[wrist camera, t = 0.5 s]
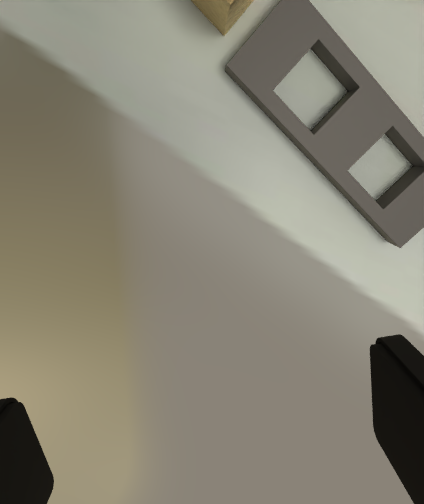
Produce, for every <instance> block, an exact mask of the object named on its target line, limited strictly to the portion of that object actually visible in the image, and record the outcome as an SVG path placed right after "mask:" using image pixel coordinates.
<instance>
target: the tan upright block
mask: <svg viewBox="0 0 424 504" xmlns="http://www.w3.org/2000/svg"><path fill="white" fill-rule="evenodd" d="M191 1H192V2H193V3H194V4H195V5H196V6H197V7H198V9H199V10H200V11H201V12H202V13H203V14H204V15H205V16H206V17H207V18H208V19H209V20H210V21H211V23H212V24H213V25H214V26H215V27H216V28H217V29H218V30H219V31H220V32H221V33H222V34H223V35H224V36H225V34H226V33H227V32H228V31H229V30H230V28H231V27H232V26H233V25H234V24H235V22H236V21H237V20H238V19H239V18H240V16H241V15H242V14H243V13H244V12H245V10H246V9H247V8H248V7H249V6H250V4H251V3H252V2H253V1H254V0H191Z"/></svg>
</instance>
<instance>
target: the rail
mask: <svg viewBox="0 0 424 504" xmlns="http://www.w3.org/2000/svg"><path fill="white" fill-rule="evenodd" d="M310 48H311V49H312V50H313V51H314V52H315V53H316V55H317V56H318V57H319V58H320V59H321V60H322V61H323V63H324V64H325V65H326V66H327V67H328V68H329V70H330V71H331V72H332V73H333V74H334V75H335V76H336V78H337V79H338V80H339V81H340V82H341V83H342V85H343V86H344V87H345V88H346V89H347V90H348V91H349V92H348V93H347V94H346V95H345V96H344V97H343V98H342V99H341V100H340V101H339V102H338V103H337V104H336V105H335V106H334V107H333V108H332V110H331V111H330V112H329V113H328V114H327V115H326V116H325V117H324V118H323V119H322V120H321V121H320V122H319V123H318V124H317V125H316V126H315V127H314V128H313V129H312V130H311V131H310V130H309V129H308V128H307V127H306V126H305V125H304V124H303V123H302V122H301V120H300V119H299V118H298V117H297V116H296V115H295V114H294V113H293V112H292V111H291V110H290V109H289V108H288V106H287V105H286V104H285V103H284V102H283V101H282V100H281V99H280V98H279V97H278V96H277V95H276V94H275V92H274V91H273V89H274V88H275V87H276V86H277V85H278V84H279V83H280V82H281V80H282V79H283V78H284V77H285V76H286V75H287V74H288V73H289V72H290V70H291V69H292V68H293V67H294V66H295V65H296V64H297V63H298V62H299V60H300V59H301V58H302V57H303V56H304V55H305V54H306V53H307V52H308V50H309V49H310ZM225 72H226V73H227V74H228V75H229V76H230V77H231V78H232V79H233V80H234V81H235V82H236V83H237V84H238V85H239V86H240V87H241V88H242V89H243V90H244V92H245V93H246V94H247V95H248V96H249V97H250V98H251V99H252V100H253V101H254V102H255V103H256V104H257V105H258V106H259V107H260V108H261V109H262V110H263V111H264V112H265V114H266V115H267V116H268V117H269V118H270V119H271V120H272V121H273V122H274V123H275V124H276V125H277V126H278V127H279V128H280V129H281V130H282V131H283V132H284V133H285V134H286V136H287V137H288V138H289V139H290V140H291V141H292V142H293V143H294V144H295V145H296V146H297V147H298V148H299V149H300V150H301V151H302V152H303V153H304V154H305V155H306V157H307V158H308V159H309V160H310V161H311V162H312V163H313V164H314V165H315V166H316V167H317V168H318V169H319V170H320V171H321V172H322V173H323V174H324V175H325V176H326V177H327V179H328V180H329V181H330V182H331V183H332V184H333V185H334V186H335V187H336V188H337V189H338V190H339V191H340V192H341V193H342V194H343V195H344V196H345V197H346V198H347V200H348V201H349V202H350V203H351V204H352V205H353V206H354V207H355V208H356V209H357V210H358V211H359V212H360V213H361V214H362V215H363V216H364V217H365V218H366V219H367V220H368V222H369V223H370V224H371V225H372V226H373V227H374V228H375V229H376V230H377V231H378V232H379V233H380V234H381V235H382V236H383V237H384V238H385V239H386V240H387V241H388V242H389V243H391V244H393V245H395V246H397V247H399V248H401V247H402V246H403V245H404V244H405V243H407V242H408V241H409V240H410V239H411V238H412V237H413V236H414V235H416V234H417V233H418V232H419V231H420V230H421V229H422V228H423V227H424V137H423V136H422V135H421V134H420V132H419V131H418V130H417V129H416V128H415V126H414V125H413V124H412V123H411V122H410V120H409V119H408V118H407V117H406V116H405V115H404V113H403V112H402V111H401V110H400V109H399V107H398V106H397V105H396V104H395V103H394V101H393V100H392V99H391V98H390V97H389V95H388V94H387V93H386V92H385V91H384V89H383V88H382V87H381V86H380V85H379V83H378V82H377V81H376V80H375V79H374V78H373V76H372V75H371V74H370V73H369V72H368V70H367V69H366V68H365V67H364V66H363V64H362V63H361V62H360V61H359V60H358V58H357V57H356V56H355V55H354V54H353V52H352V51H351V50H350V49H349V48H348V46H347V45H346V44H345V43H344V42H343V41H342V39H341V38H340V37H339V36H338V35H337V33H336V32H335V31H334V30H333V29H332V27H331V26H330V25H329V24H328V23H327V21H326V20H325V19H324V18H323V17H322V15H321V14H320V13H319V12H318V11H317V9H316V8H315V7H314V6H313V5H312V4H311V2H310V1H309V0H281V1H280V2H279V4H278V5H277V6H276V7H275V8H274V9H273V11H272V12H271V13H270V14H269V15H268V17H267V18H266V19H265V20H264V21H263V22H262V24H261V25H260V26H259V27H258V28H257V30H256V31H255V32H254V33H253V34H252V35H251V37H250V38H249V39H248V40H247V41H246V42H245V44H244V45H243V46H242V47H241V48H240V50H239V51H238V52H237V53H236V54H235V55H234V57H233V58H232V59H231V60H230V61H229V63H228V64H227V65H226V69H225ZM384 134H386V135H387V136H388V138H389V139H390V140H391V141H392V142H393V143H394V144H395V146H396V147H397V148H398V149H399V150H400V151H401V153H402V154H403V155H404V156H405V157H406V158H407V159H408V161H409V162H410V163H411V164H412V165H413V167H412V168H411V169H410V170H409V171H407V172H406V173H405V174H404V175H403V176H402V177H401V178H400V179H399V180H398V181H397V182H396V183H395V184H394V185H393V186H392V187H391V188H389V189H388V190H387V191H386V192H385V193H384V194H383V195H382V196H381V197H380V198H379V199H378V200H377V201H375V200H374V199H373V198H372V197H371V196H370V195H369V194H368V193H367V191H366V190H365V189H364V188H363V187H362V186H361V185H360V184H359V183H358V182H357V181H356V180H355V179H354V177H353V176H352V175H351V174H350V173H349V172H348V171H347V170H348V169H349V168H350V167H351V166H352V165H353V164H354V163H355V162H356V161H357V160H358V159H359V158H360V157H361V156H362V155H363V154H364V153H365V152H366V151H367V150H369V149H370V148H371V147H372V146H373V145H374V144H375V143H376V142H377V141H378V140H379V139H380V138H381V137H382V136H383V135H384Z"/></svg>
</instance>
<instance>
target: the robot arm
mask: <svg viewBox="0 0 424 504" xmlns="http://www.w3.org/2000/svg"><path fill="white" fill-rule="evenodd" d="M370 362H371V363H370V364H371V385H372V406H373V427H374V432H375V435H376V438H377V440H378V442H379V444H380V446H381V447H382V449H383V451H384V452H385V454H386V456H387V458H388V459H389V461H390V463H391V465H392V466H393V468H394V470H395V471H396V473H397V475H398V477H399V478H400V480H401V482H402V484H403V485H404V487H405V489H406V490H407V492H408V494H409V495H410V497H411V499H412V501H413V503H414V504H424V356H423V355H422V354H421V353H420V352H419V351H418V350H417V349H416V348H415V347H414V346H413V345H412V344H411V343H410V342H409V341H408V340H407V339H406V338H405V337H404V336H402V335H393V336H386V337H381V338H377V340H376V344H374V345H371V346H370ZM53 484H54V479H53V474H52V472H51V470H50V467H49V465H48V462H47V460H46V458H45V455H44V453H43V451H42V448H41V446H40V443H39V441H38V438H37V436H36V434H35V431H34V429H33V426H32V424H31V421H30V419H29V417H28V414H27V412H26V409H25V407H24V405H23V404H22V403H21V402H18V401H17V400H16V399H15V398H6V399H0V504H47V502H48V499H49V497H50V495H51V493H52V490H53Z"/></svg>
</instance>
